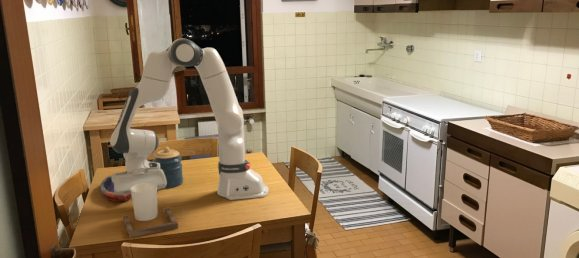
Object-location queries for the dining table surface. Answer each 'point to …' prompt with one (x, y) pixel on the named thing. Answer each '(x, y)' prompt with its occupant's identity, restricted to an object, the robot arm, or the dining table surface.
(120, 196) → the dish
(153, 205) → the candle holder
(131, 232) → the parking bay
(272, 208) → the dining table surface
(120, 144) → the robot arm
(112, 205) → the dining table surface
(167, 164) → the canister
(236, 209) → the dining table surface
